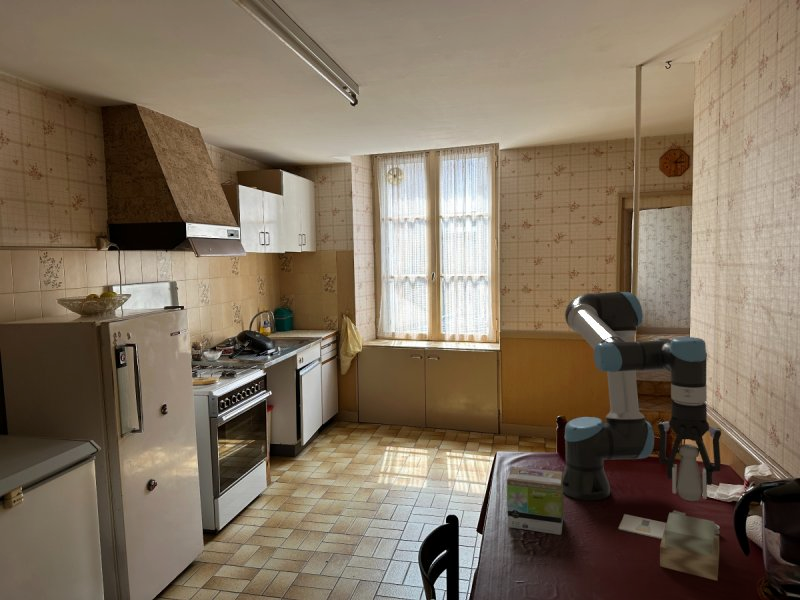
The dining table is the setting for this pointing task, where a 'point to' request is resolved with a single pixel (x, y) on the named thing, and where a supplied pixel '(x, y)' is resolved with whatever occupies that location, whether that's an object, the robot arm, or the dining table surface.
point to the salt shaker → (689, 474)
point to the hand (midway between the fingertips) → (689, 493)
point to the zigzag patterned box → (690, 546)
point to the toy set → (716, 527)
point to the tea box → (535, 500)
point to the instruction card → (642, 526)
